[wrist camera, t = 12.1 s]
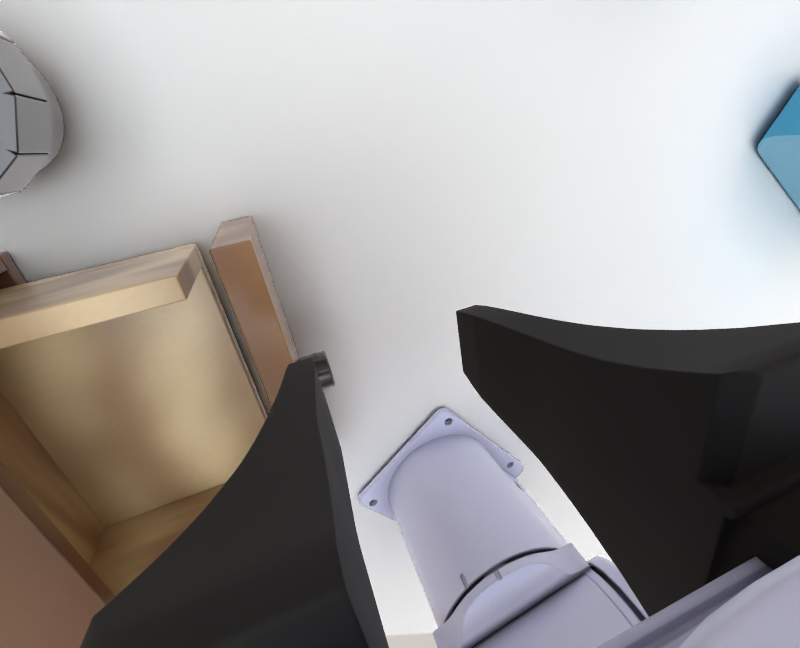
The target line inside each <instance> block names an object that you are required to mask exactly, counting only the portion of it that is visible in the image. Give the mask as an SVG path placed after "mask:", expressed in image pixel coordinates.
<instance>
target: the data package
mask: <svg viewBox="0 0 800 648" xmlns="http://www.w3.org/2000/svg"><path fill="white" fill-rule="evenodd" d="M758 153H759V155H760V156H761V158H762V159H763V160H764V162H765V163H766V164H767V166H768V167H769V169H770V170H771V171H772V173H773V174H774V175H775V177H776V178H777V179H778V181H779V182H780V184H781V185H782V186H783V188H784V189H785V190H786V192H787V193H788V194H789V196H790V197H791V199H792V200H793V201H794V203H795V204H796V205H797V207H798V208H799V209H800V85H799V87H798V88H797V90H796V91H795V93H794V94H793V95H792V97H791V98H790V100H789V101H788V103H787V104H786V106H785V107H784V108H783V110H782V111H781V113H780V114H779V116H778V117H777V118H776V120H775V121H774V123H773V124H772V126H771V127H770V129H769V130H768V131H767V133H766V134H765V136H764V137H763V139H762V140H761V141H760V143H759V145H758Z"/></svg>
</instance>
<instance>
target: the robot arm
mask: <svg viewBox="0 0 800 648" xmlns="http://www.w3.org/2000/svg"><path fill="white" fill-rule="evenodd" d="M456 315H457V323H458V332H459V340H460V348H461V356H462V365H463V372H464V373H465V375H466V376H467V378H468V379H469V381H470V382H471V384H472V385H473V387H474V388H475V390H476V391H477V392H478V394H479V395H480V396H481V398H482V399H483V400H484V401H485V402H486V403H487V404H488V405H489V406H490V408H491V409H492V410H493V411H494V412H495V413H496V414H497V415H498V416H499V417H500V418H501V419H502V420H503V421H504V423H505V424H506V425H507V426H508V427H509V428H510V429H511V430H512V431H513V432H514V433H515V434H516V435H517V436H518V437H519V438H520V439H521V440H522V442H523V443H524V444H525V445H526V446H527V447H528V448H529V449H530V450H531V451H532V452H533V453H534V454H535V456H536V457H537V458H538V459H539V460H540V461H541V463H542V464H543V465H544V466H545V468H546V469H547V470H548V471H549V473H550V474H551V475H552V477H553V478H554V479H555V481H556V482H557V483H558V485H559V486H560V487H561V489H562V490H563V491H564V493H565V494H566V495H567V497H568V498H569V499H570V501H571V502H572V504H573V505H574V506H575V508H576V509H577V510H578V512H579V513H580V515H581V516H582V517H583V519H584V520H585V522H586V523H587V524H588V526H589V527H590V528H591V530H592V531H593V533H594V534H595V536H596V537H597V539H598V540H599V542H600V543H601V545H602V546H603V548H604V549H605V551H606V552H607V553H608V555H609V556H610V558H611V559H612V561H613V562H611V561H609V560H607V559H605V558H603V557H599V556H596V557H594V558H592V559H591V560H589V561H588V562H586V561H585V559H584V558H583V557H582V556H581V555H580V553H579V552H578V551H577V550H576V548H575V547H574V546H573V545H572V544H571V543H567V542H566V541H565V539H564V538H563V537H562V535H561V534H560V533H559V532H558V530H557V529H556V528H555V527H554V526H553V524H552V523H551V522H550V521H549V519H548V518H547V517H546V516H545V514H544V513H543V512H542V511H541V509H540V508H539V507H538V506H537V504H536V503H535V502H534V501H533V499H532V498H531V497H530V496H529V494H528V493H527V492H526V491H525V489H524V488H523V487H522V486H521V485H520V483H519V482H518V481H517V480H516V477H517V476H518V475H519V474H520V473H521V472H522V471H523V465H522V464H521V463H520V462H519V461H518V460H516V459H515V458H513V457H512V456H511V455H509V454H508V453H507V452H505V451H504V450H502V449H501V448H500V447H498V446H497V445H496V444H494V443H493V442H491V441H490V440H489V439H487V438H486V437H484V436H483V435H482V434H480V433H479V432H478V431H476V430H475V429H473V428H472V427H471V426H469V425H468V424H467V423H465V422H464V421H462V420H461V419H460V418H458V417H457V416H456V415H454V414H453V413H451V412H450V411H449V410H447V409H445V408H441V409H438V410H437V411H436V412H435V413H434V414H433V415H432V416H431V417H430V418H429V420H428V421H427V422H426V423H425V424H424V425H423V426H422V427H421V428H420V429H419V430H418V431H417V433H416V434H415V435H414V436H413V437H412V438H411V439H410V440H409V441H408V442H407V443H406V444H405V446H404V447H403V448H402V449H401V450H400V451H399V452H398V453H397V454H396V455H395V456H394V457H393V459H392V460H391V461H390V462H389V463H388V464H387V465H386V466H385V467H384V468H383V469H382V470H381V471H380V473H379V474H378V475H377V476H376V477H375V478H374V479H373V480H372V481H371V482H370V483H369V484H368V486H367V487H366V488H365V489H364V490H363V491H362V492H361V493H360V495H359V497H358V499H359V502H360V504H361V505H362V506H364V507H367V508H369V509H371V510H373V511H375V512H378V513H380V514H382V515H384V516H386V517H389V518H391V519H393V520H395V521H397V523H398V525H399V528H400V530H401V533H402V535H403V538H404V541H405V543H406V546H407V548H408V551H409V553H410V556H411V558H412V561H413V564H414V566H415V569H416V571H417V574H418V576H419V579H420V581H421V584H422V587H423V589H424V592H425V594H426V597H427V599H428V602H429V604H430V607H431V610H432V612H433V615H434V617H435V620H436V622H437V625H438V627H439V628H438V629H436V630H435V631H434V632H433V636H434V639H435V641H436V644H437V647H438V648H800V322H799V323H789V324H778V325H767V326H757V327H746V328H731V329H708V330H642V329H624V328H613V327H602V326H592V325H584V324H577V323H571V322H565V321H558V320H553V319H548V318H542V317H537V316H532V315H528V314H523V313H518V312H514V311H509V310H504V309H499V308H494V307H488V306H481V305H474V306H471V307H468V308H465V309H462V310H458V311H456ZM448 418H449V420H448V421H446V420H447V419H448ZM445 421H446V422H445ZM372 500H373V501H372ZM80 648H389V647H388V643H387V640H386V636H385V633H384V629H383V626H382V622H381V619H380V615H379V612H378V608H377V605H376V601H375V598H374V594H373V591H372V587H371V584H370V580H369V577H368V573H367V569H366V566H365V562H364V559H363V555H362V552H361V548H360V545H359V540H358V536H357V532H356V527H355V522H354V517H353V511H352V506H351V500H350V494H349V489H348V483H347V478H346V472H345V467H344V462H343V456H342V451H341V447H340V444H339V440H338V437H337V434H336V431H335V427H334V424H333V421H332V417H331V414H330V411H329V408H328V405H327V402H326V399H325V396H324V392H323V389H322V386H321V383H320V380H319V377H318V374H317V371H316V367H315V364H314V361H313V358H312V357H310V358H307V359H304V360H301V361H297V362H294V363H291V364H289V365H288V366H287V368H286V370H285V374H284V377H283V380H282V383H281V386H280V388H279V391H278V394H277V396H276V398H275V401H274V403H273V405H272V408H271V410H270V412H269V414H268V416H267V418H266V420H265V422H264V424H263V426H262V428H261V430H260V432H259V434H258V435H257V437H256V439H255V441H254V443H253V444H252V446H251V448H250V449H249V451H248V452H247V454H246V456H245V457H244V459H243V460H242V462H241V463H240V465H239V466H238V467H237V469H236V470H235V472H234V473H233V474H232V475H231V477H230V478H229V479H228V480H227V482H226V483H225V484H224V485H223V487H222V488H221V489H220V490H219V492H218V493H217V494H216V495H215V497H214V498H213V499H212V500H211V502H210V503H209V504H208V505H207V506H206V508H205V509H204V510H203V511H202V512H201V513H200V514H199V515H198V516H197V518H196V519H195V520H194V521H193V522H192V523H191V524H190V525H189V526H188V527H187V529H186V530H185V531H184V532H183V533H182V534H181V535H180V536H179V537H178V538H177V539H176V540H175V541H174V542H173V543H172V544H171V545H170V546H169V547H168V548H167V549H166V550H165V551H164V552H163V553H162V554H161V555H160V556H159V557H158V558H157V559H156V560H155V561H154V562H153V563H152V564H151V565H149V566H148V567H147V568H146V569H145V570H144V571H143V572H142V573H141V574H140V575H139V576H137V577H136V578H135V579H134V580H133V581H132V582H131V583H130V584H129V585H128V586H127V587H125V588H124V589H123V590H122V591H121V592H120V593H119V594H118V595H117V596H116V597H115V598H113V599H112V600H111V601H110V602H109V603H108V604H107V605H106V606H105V607H103V608H102V609H101V610H100V611H99V612H98V613H96V614H95V615H94V616H93V617H92V619H91V622H90V624H89V627H88V629H87V632H86V634H85V636H84V639H83V641H82V644H81V646H80Z"/></svg>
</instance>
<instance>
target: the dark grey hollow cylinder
mask: <svg viewBox="0 0 800 648" xmlns="http://www.w3.org/2000/svg"><path fill="white" fill-rule="evenodd" d="M63 135H64V123H63V116H62V111H61V108H60V105H59V102H58V100H57V98H56V96H55V94H54V92H53V90H52V88H51V87H50V85H49V84H48V82H47V81H46V79H45V78H44V77H43V75H42V74H41V73H40V72H39V71H38V69H37V68H36V67H35V66H34V65H33V64H32V63H31V62H30V61H29V60H27V59H26V58H25V57H24V55H23V54H22V52H21V50H20V48H19V47H18V46H17V45H15V44H14V41H13V40H12V39H10V38H9V37H8V36H7V35H5V34H4V33H3V32H2V31H0V197H4V196H7V195H11V194H15V193H18V192H21V190H24V189H25V188H26V187H27V186H28V185H29V183H30V182H31V181H32V179H33V178H34V177H35V176H36V174H37V173H38V172H39V171H40V170H42V169H43V168H45V167H46V166H47V165H48V164H49V163H50V162H51V161H52V160H53V159H54V158H55V156H56V155H57V153H58V152H59V149H60V147H61V145H62V140H63Z"/></svg>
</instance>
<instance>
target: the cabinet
mask: <svg viewBox="0 0 800 648" xmlns="http://www.w3.org/2000/svg"><path fill="white" fill-rule="evenodd" d="M24 283H27V282H26V281H25V279H24V277H23V276H22V274H21V273H20V271H19V270H18V268H17V266H16V265H15V263H14V262H13V260H12V259H11V257H10V255H9V254H8V253H7V252H1V253H0V289H3V288H7V287H11V286H16V285H20V284H24ZM115 597H116V596H115V595H114V594H113V593H112V592H111V590H110V589H109V588H108V587H107V586H106V585H105V583H104V582H103V581H102V580H101V579H100V578H99V576H98V575H97V574H96V573H95V572H94V571H93V569H92V568H91V567H90V566H89V565H88V564H87V562H86V561H85V560H84V559H83V558H82V557H81V555H80V554H79V553H78V552H77V551H76V550H75V548H74V547H73V546H72V545H71V544H70V543H69V541H68V540H67V539H66V538H65V537H64V535H63V534H62V533H61V532H60V531H59V530H58V528H57V527H56V526H55V525H54V524H53V523H52V521H51V520H50V519H49V518H48V517H47V516H46V514H45V513H44V512H43V511H42V510H41V509H40V507H39V506H38V505H37V504H36V503H35V502H34V500H33V499H32V498H31V497H30V496H29V495H28V493H27V492H26V491H25V490H24V489H23V488H22V486H21V485H20V484H19V483H18V482H17V481H16V479H15V478H14V477H13V476H12V475H11V474H10V472H9V471H8V470H7V469H6V468H5V467H4V465H3V464H2V463H1V462H0V648H80V646H81V644H82V641H83V639H84V636H85V634H86V632H87V629H88V627H89V624H90V622H91V619H92V617H93V616H94V615H95V614H96V613H98V612H99V611H100V610H101V609H102V608H103V607H105V606H106V605H107V604H108V603H109V602H110V601H111V600H112V599H113V598H115Z"/></svg>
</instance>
